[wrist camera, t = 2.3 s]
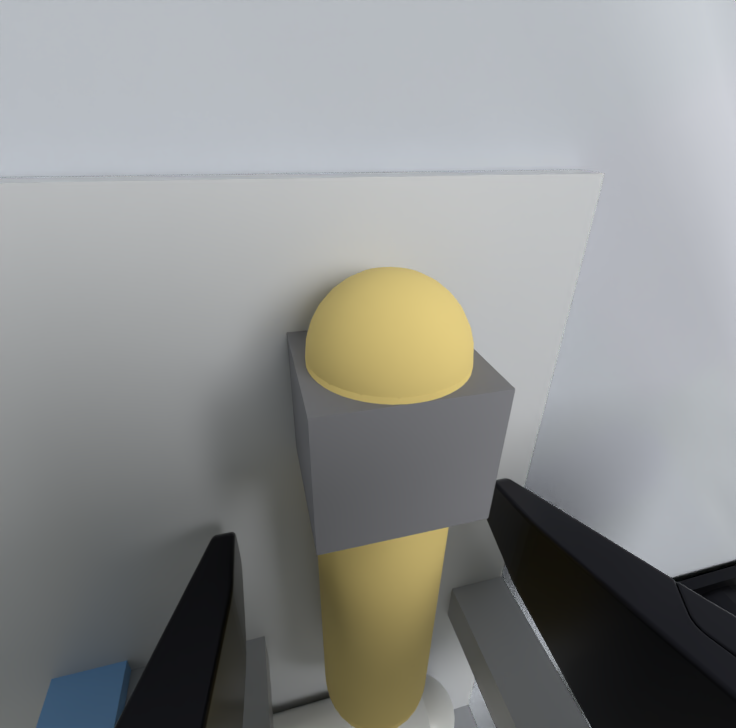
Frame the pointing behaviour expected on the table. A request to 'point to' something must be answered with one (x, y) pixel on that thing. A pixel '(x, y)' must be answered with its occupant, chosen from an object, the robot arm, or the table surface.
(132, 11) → the table surface
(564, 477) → the table surface
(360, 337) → the yellow capsule with collar
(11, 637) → the pipe mounting panel
